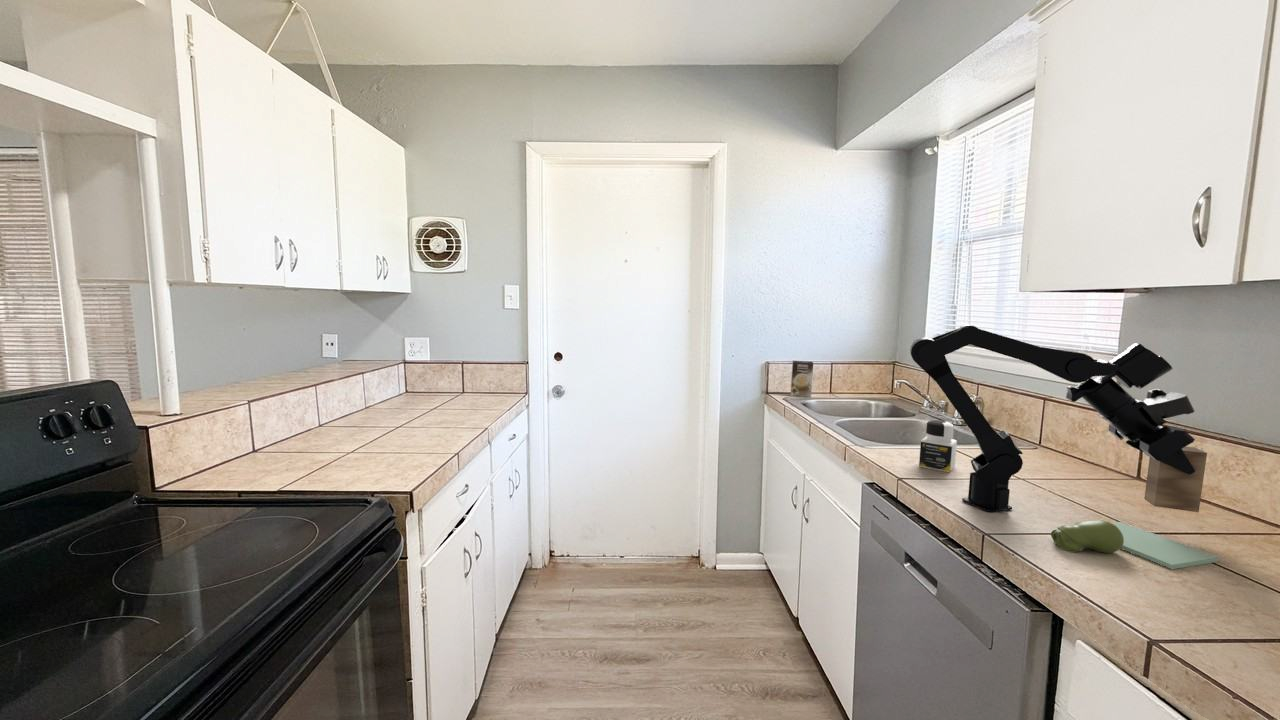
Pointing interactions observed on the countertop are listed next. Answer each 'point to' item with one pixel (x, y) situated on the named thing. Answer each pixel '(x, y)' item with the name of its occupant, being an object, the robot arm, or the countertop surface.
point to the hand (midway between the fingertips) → (1185, 469)
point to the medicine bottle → (938, 446)
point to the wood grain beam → (1176, 483)
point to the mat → (1161, 548)
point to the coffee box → (801, 379)
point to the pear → (1089, 536)
